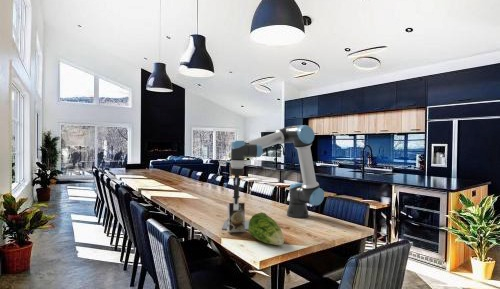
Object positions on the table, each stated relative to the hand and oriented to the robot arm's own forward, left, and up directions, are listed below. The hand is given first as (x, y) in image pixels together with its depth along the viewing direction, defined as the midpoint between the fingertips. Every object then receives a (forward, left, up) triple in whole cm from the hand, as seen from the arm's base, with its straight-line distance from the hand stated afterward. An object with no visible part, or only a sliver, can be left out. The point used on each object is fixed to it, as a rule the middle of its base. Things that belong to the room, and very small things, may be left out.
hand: (236, 209), depth 169 cm
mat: (0, -15, -14) cm, 21 cm away
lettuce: (-18, +12, -14) cm, 26 cm away
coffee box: (0, -2, -13) cm, 13 cm away
